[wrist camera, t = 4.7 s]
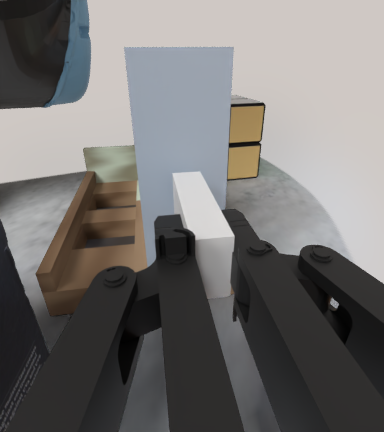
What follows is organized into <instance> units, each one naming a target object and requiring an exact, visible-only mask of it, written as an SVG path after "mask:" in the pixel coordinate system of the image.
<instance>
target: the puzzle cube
mask: <svg viewBox="0 0 384 432" xmlns="http://www.w3.org/2000/svg"><path fill="white" fill-rule="evenodd" d="M264 113H265V104H264V103H263V102H259V101H256V100H252V99H248V98H244V97H241V96H237V95H231V107H230V127H229V146H228V166H227V180H236V179H246V178H256V177H257V176H258V171H259V162H260V152H261V144H260V143H259V142H260V141H261V140H262V132H263V123H264Z"/></svg>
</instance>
